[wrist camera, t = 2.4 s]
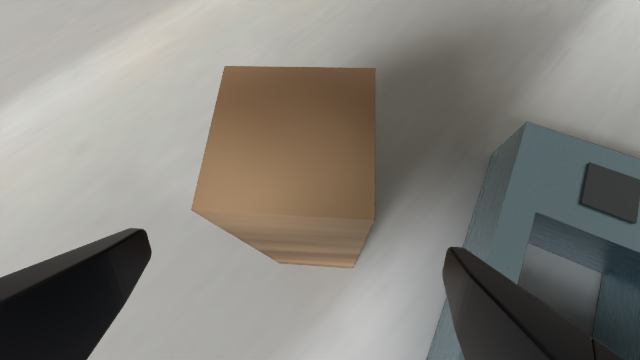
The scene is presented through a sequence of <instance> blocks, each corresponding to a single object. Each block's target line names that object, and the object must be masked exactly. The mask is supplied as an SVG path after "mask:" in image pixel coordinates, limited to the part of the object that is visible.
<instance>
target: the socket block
mask: <svg viewBox="0 0 640 360" xmlns="http://www.w3.org/2000/svg"><path fill="white" fill-rule="evenodd" d="M528 243H531V244H533V245H536V246H538V247H540V248H543V249H545V250H548V251H550V252H552V253H555V254H557V255H560V256H562V257H565V258H567V259H569V260H572V261H574V262H577V263H579V264H581V265H584V266H586V267H589V268H591V269H593V270H596V271H598V272H601V273H603V275H602V281H601V287H600V293H599V300H598V306H597V312H596V318H595V324H594V331H593V337H592V339H593V338H595V339H597V340H598V341H599V342H601V343H602V344H604V345H605V346H607V347H608V348H609V349H611V350H612V351H614V352H615V353H617V354H618V355H620V356H621V357H623V358H624V359H626V360H640V159H638V158H635V157H632V156H629V155H626V154H623V153H620V152H617V151H614V150H611V149H608V148H605V147H602V146H599V145H596V144H593V143H590V142H587V141H584V140H581V139H578V138H575V137H572V136H569V135H566V134H563V133H560V132H557V131H554V130H551V129H548V128H545V127H542V126H539V125H536V124H533V123H530V122H526V123H525V124H524V125H523V126H522V127H521V128H520V129H518V130H517V131H516V132H515V133H514V134H513V135H512V136H511V137H510V138H509V139H508V140H507V141H506V142H505V143H504V144H503V145H502V146H500V147H499V148H498V149H497V150H496V151H495V152H494V153H493V155H492V158H491V161H490V164H489V167H488V170H487V173H486V176H485V179H484V183H483V186H482V189H481V192H480V195H479V198H478V201H477V204H476V208H475V211H474V214H473V217H472V220H471V223H470V226H469V229H468V232H467V236H466V239H465V242H464V245H463V248H465V249H467V250H468V251H470V252H471V253H472V254H474V255H475V256H477V257H478V258H480V259H481V260H483V261H484V262H485V263H487V264H488V265H490V266H491V267H493V268H494V269H496V270H497V271H498V272H500V273H501V274H503V275H504V276H506V277H507V278H509V279H510V280H511V281H513V282H514V283H516V284H518V280H519V276H520V272H521V268H522V264H523V260H524V256H525V252H526V248H527V244H528ZM427 360H465V359H464V356H463V354H462V351H461V348H460V345H459V342H458V339H457V336H456V333H455V330H454V325H453V321H452V317H451V313H450V308H449V304H448V299H447V298H446V301H445V304H444V307H443V310H442V314H441V317H440V320H439V323H438V326H437V329H436V332H435V335H434V338H433V342H432V345H431V348H430V351H429V354H428V357H427Z"/></svg>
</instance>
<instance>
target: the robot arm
mask: <svg viewBox="0 0 640 360" xmlns="http://www.w3.org/2000/svg"><path fill="white" fill-rule="evenodd" d="M150 258H151V247H150V244H149V240H148V236H147V233H146V231H145V230H144V229H137V228H129V229H126V230H124V231H121V232H118V233H116V234H113V235H111V236H108V237H105V238H103V239H100V240H98V241H95V242H92V243H90V244H87V245H85V246H82V247H79V248H77V249H74V250H71V251H69V252H66V253H64V254H61V255H58V256H56V257H53V258H51V259H48V260H45V261H43V262H40V263H37V264H35V265H32V266H30V267H27V268H24V269H22V270H19V271H17V272H14V273H11V274H9V275H6V276H4V277H1V278H0V360H87V359H88V357H89V356H90V354H91V353H92V351H93V350H94V348H95V347H96V346H97V344H98V343H99V341H100V340H101V338H102V337H103V335H104V334H105V332H106V331H107V329H108V328H109V327H110V325H111V324H112V322H113V321H114V319H115V318H116V316H117V315H118V313H119V312H120V311H121V309H122V307H123V306H124V304H125V303H126V301H127V299H128V298H129V296H130V294H131V292H132V291H133V289H134V287H135V285H136V283H137V282H138V280H139V278H140V276H141V275H142V273H143V271H144V269H145V267H146V266H147V264H148V262H149V260H150ZM443 281H444V285H445V290H446V294H447V299H448V304H449V308H450V313H451V317H452V321H453V325H454V330H455V333H456V336H457V339H458V342H459V345H460V348H461V351H462V354H463V356H464V359H465V360H626V359H624V358H623V357H621V356H620V355H618V354H617V353H615V352H614V351H612V350H611V349H609V348H608V347H607V346H605V345H604V344H602V343H601V342H599V341H598V340H597V339H595V338H593V339H592V337H591V335H589V334H588V333H586V332H585V331H583V330H582V329H581V328H579V327H578V326H576V325H575V324H573V323H572V322H570V321H569V320H568V319H566V318H565V317H563V316H562V315H560V314H559V313H558V312H556V311H555V310H553V309H552V308H550V307H549V306H547V305H546V304H545V303H543V302H542V301H540V300H539V299H537V298H536V297H534V296H533V295H532V294H530V293H529V292H527V291H526V290H524V289H523V288H521V287H520V286H519V285H517V284H516V283H514V282H513V281H511V280H510V279H509V278H507V277H506V276H504V275H503V274H501V273H500V272H498V271H497V270H496V269H494V268H493V267H491V266H490V265H488V264H487V263H485V262H484V261H483V260H481V259H480V258H478V257H477V256H475V255H474V254H472V253H471V252H470V251H468V250H467V249H465V248H461V247H450V248H448V250H447V253H446V258H445V262H444V267H443Z"/></svg>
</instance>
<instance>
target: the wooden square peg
mask: <svg viewBox="0 0 640 360" xmlns="http://www.w3.org/2000/svg"><path fill="white" fill-rule="evenodd" d="M191 210H192V211H193V212H195V213H197V214H198V215H200V216H202V217H203V218H205V219H207V220H208V221H210V222H212V223H213V224H215V225H217V226H218V227H220V228H222V229H223V230H225V231H227V232H228V233H230V234H232V235H233V236H235V237H237V238H238V239H240V240H242V241H243V242H245V243H247V244H248V245H250V246H252V247H253V248H255V249H257V250H258V251H260V252H262V253H263V254H265V255H267V256H268V257H270V258H272V259H273V260H275V261H277V262H278V263H284V264H299V265H314V266H329V267H343V268H353V267H354V264H355V262H356V260H357V258H358V256H359V253H360V251H361V249H362V247H363V245H364V242H365V240H366V238H367V236H368V234H369V231H370V229H371V227H372V225H373V223H374V220H375V68H323V67H253V66H225V67H224V71H223V76H222V80H221V84H220V88H219V93H218V97H217V101H216V105H215V110H214V114H213V118H212V123H211V127H210V131H209V135H208V140H207V144H206V148H205V153H204V157H203V161H202V165H201V170H200V174H199V178H198V182H197V187H196V191H195V195H194V200H193V204H192V208H191Z"/></svg>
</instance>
